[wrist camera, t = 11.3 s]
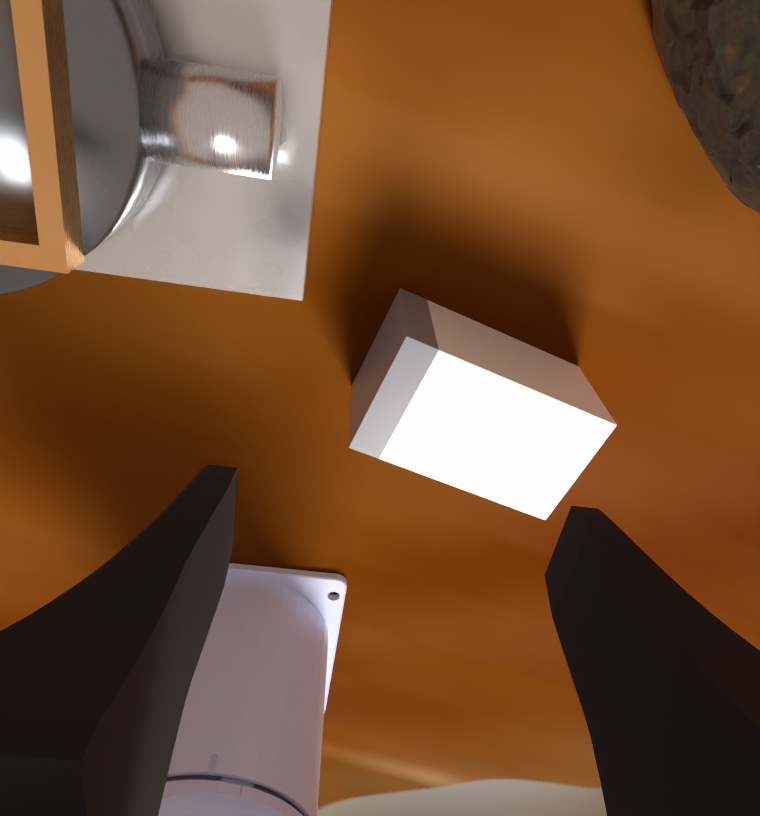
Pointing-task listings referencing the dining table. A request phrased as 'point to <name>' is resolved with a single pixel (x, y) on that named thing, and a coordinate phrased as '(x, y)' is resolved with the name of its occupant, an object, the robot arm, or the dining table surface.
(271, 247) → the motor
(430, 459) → the block
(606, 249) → the dining table surface
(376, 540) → the dining table surface
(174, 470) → the dining table surface
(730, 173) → the hand tool
